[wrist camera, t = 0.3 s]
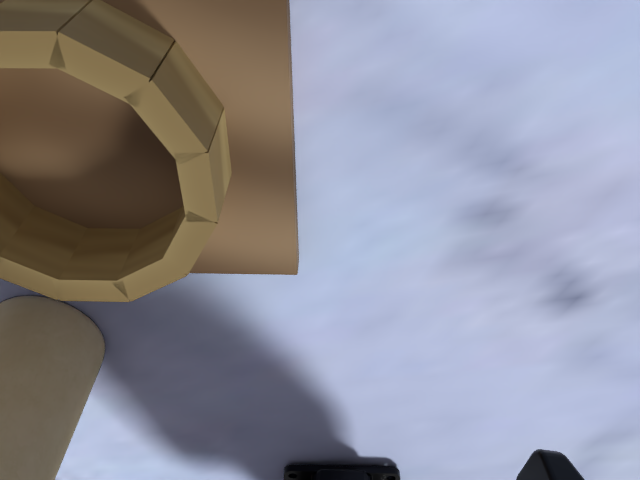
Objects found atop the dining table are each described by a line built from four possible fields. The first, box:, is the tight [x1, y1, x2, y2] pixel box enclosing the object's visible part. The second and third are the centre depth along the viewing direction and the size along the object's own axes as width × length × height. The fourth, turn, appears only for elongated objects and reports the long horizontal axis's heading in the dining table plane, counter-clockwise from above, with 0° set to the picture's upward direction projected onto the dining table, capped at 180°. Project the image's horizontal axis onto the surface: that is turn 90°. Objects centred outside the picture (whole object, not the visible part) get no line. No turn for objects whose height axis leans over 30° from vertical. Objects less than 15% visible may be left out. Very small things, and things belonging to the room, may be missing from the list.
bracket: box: [0, 0, 299, 302], centre depth 20 cm, size 12×14×4 cm
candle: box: [0, 296, 105, 480], centre depth 25 cm, size 6×6×10 cm
